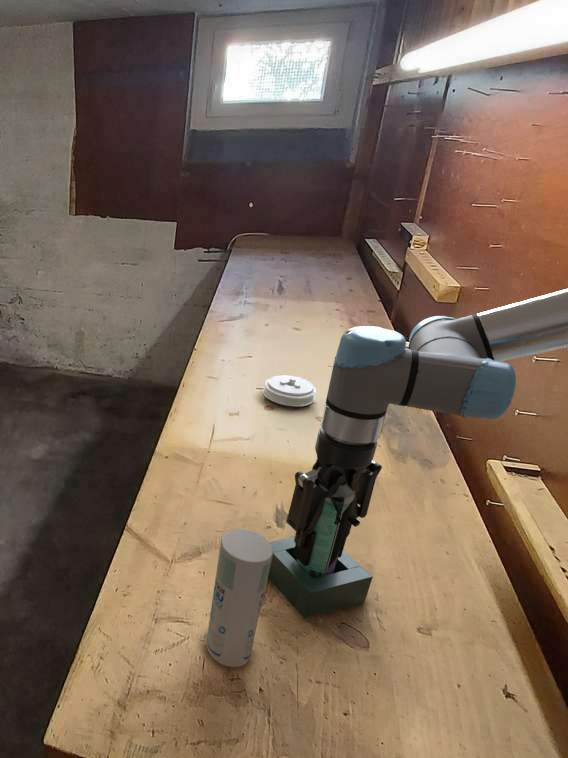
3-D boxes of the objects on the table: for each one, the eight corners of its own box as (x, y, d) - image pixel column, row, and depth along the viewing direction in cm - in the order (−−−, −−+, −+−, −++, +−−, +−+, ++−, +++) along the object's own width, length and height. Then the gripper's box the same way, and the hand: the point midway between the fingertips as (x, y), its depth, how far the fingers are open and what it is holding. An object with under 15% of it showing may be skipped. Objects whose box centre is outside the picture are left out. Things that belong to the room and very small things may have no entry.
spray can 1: (255, 671, 80) (278, 565, 71) (207, 665, 81) (224, 560, 72) (247, 633, 85) (267, 530, 76) (203, 628, 86) (218, 526, 78)
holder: (364, 602, 90) (373, 576, 87) (304, 619, 87) (310, 593, 85) (314, 553, 100) (320, 529, 97) (258, 567, 97) (263, 543, 95)
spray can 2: (338, 583, 90) (368, 481, 81) (307, 588, 89) (333, 486, 81) (317, 559, 95) (343, 460, 86) (288, 563, 94) (310, 465, 86)
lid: (304, 388, 157) (307, 372, 155) (320, 409, 146) (324, 392, 143) (257, 387, 158) (260, 371, 156) (270, 409, 147) (273, 392, 145)
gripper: (380, 410, 86) (347, 529, 96) (275, 430, 82) (253, 552, 92) (423, 435, 79) (382, 559, 90) (312, 458, 75) (283, 585, 85)
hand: (317, 555), depth 91 cm, fingers closed on spray can 2, 5 cm apart
